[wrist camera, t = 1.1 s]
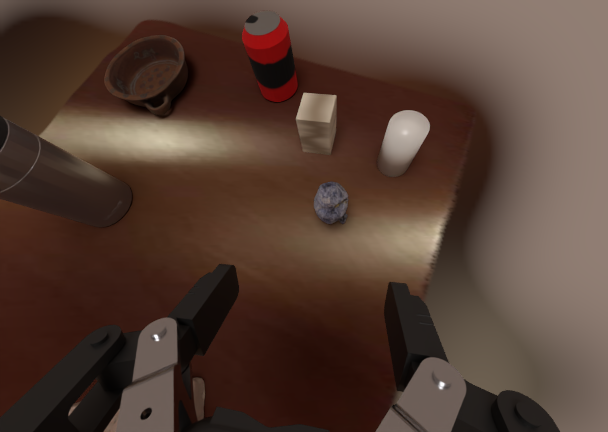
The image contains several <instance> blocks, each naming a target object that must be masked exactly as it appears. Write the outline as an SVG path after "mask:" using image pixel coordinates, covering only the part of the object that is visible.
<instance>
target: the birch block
mask: <svg viewBox="0 0 608 432" xmlns="http://www.w3.org/2000/svg"><path fill="white" fill-rule="evenodd" d="M296 122H297V126H298V131H299V136H300V140H301V145H302V149H303V151H304V152H311V153H319V154H326V155H331V151H332V147H333V142H334V138H335V134H336V95H325V94H313V93H304V94H303V97H302V101H301V104H300V107H299V111H298V114H297V117H296Z"/></svg>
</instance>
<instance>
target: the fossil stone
mask: <svg viewBox="0 0 608 432" xmlns="http://www.w3.org/2000/svg"><path fill="white" fill-rule="evenodd" d="M318 189H319V190H318V192H317V194H316V196H315V200H314V208H315V211H316V213H317V215H318V217H319V218H320V219H321V220H322V221H323V222H325V223H328V224H332V223H334V222H336V221H338V220H339V221H340V222H341V224H344V223H345V221H346V218H347V215H346V212H345V211H346V210H347V206H348V199H347V198H348V195H347V192H346V191H345V189H344V188H343V187H342V186H341V185H340V184H338V183H336V182H328V183H324V184H322V185H320V187H319V188H318Z"/></svg>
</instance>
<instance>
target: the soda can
mask: <svg viewBox="0 0 608 432" xmlns="http://www.w3.org/2000/svg"><path fill="white" fill-rule="evenodd" d="M242 40H243V43H244V46H245V48H246V51H247V54H248V57H249V60H250V62H251V65H252V68H253V71H254V74H255V76H256V79H257V82H258V85H259V87H260V90H261V93H262V95H263V96H264V97H265V98H266V99H268V100H270V101H273V102H281V101H284V100H287V99H289V98H290V97H291V96H292V95H293V94H294V93H295V91H296V90H297V87H298V83H297V77H296V71H295V65H294V59H293V54H292V48H291V42H290V37H289V30H288V25H287V23H286V22H285V21H284V20H283V19H282V18H281V17H280V16H279V15H278V14H277V13H276V12H274V11H270V10H269V11H268V10H264V11H259V12H257V13H254V14H253V15H251V16H250V17H249V18H248V19H247V20H246V22H245V27H244V30H243V33H242Z"/></svg>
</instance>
